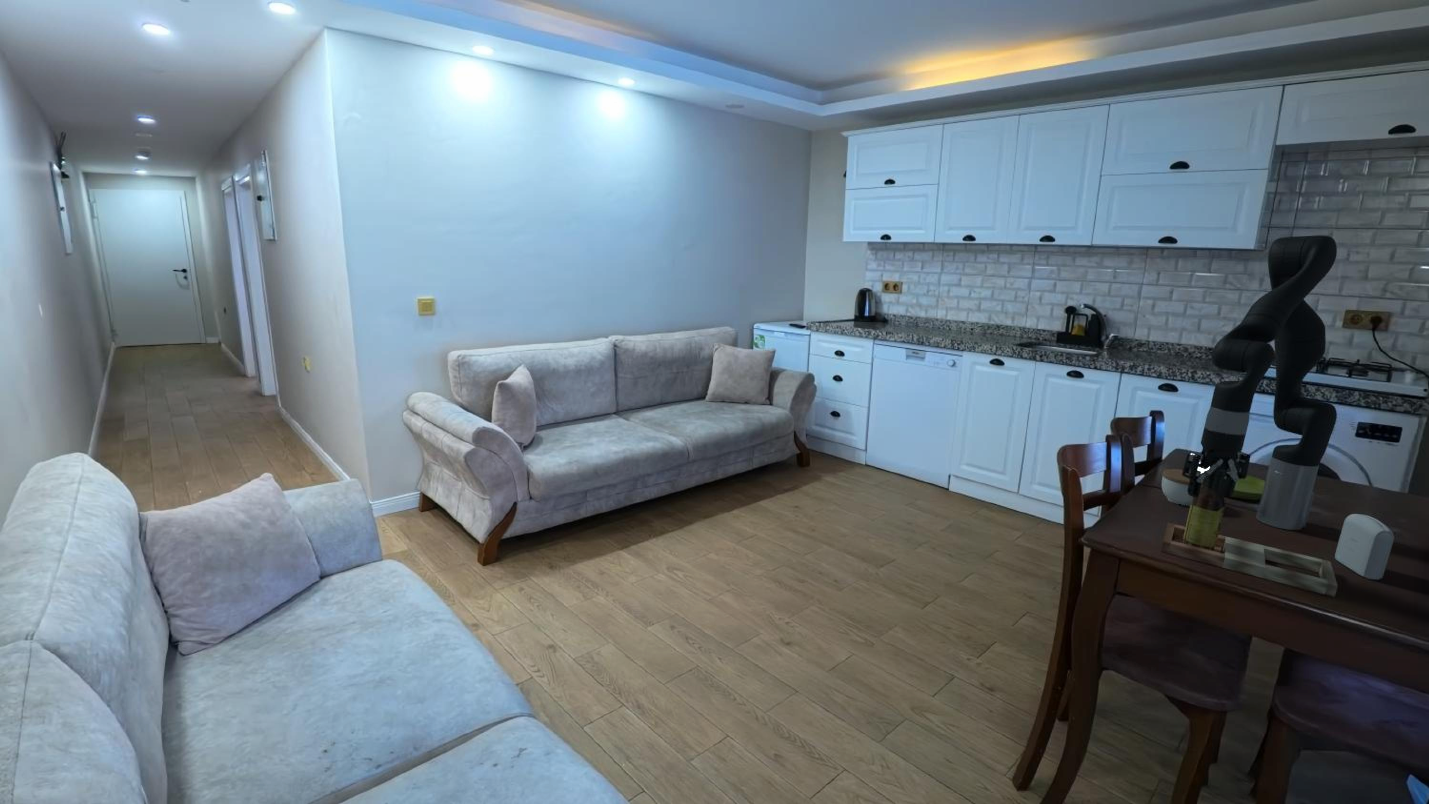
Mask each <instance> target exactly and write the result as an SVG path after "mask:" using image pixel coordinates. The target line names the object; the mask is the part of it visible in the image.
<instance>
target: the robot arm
mask: <svg viewBox="0 0 1429 804" xmlns="http://www.w3.org/2000/svg"><path fill="white" fill-rule="evenodd" d="M1337 254H1338V247H1337V242H1336V240H1335V239H1334V238H1333V237H1332V236H1330V235H1319V234H1318V235H1303V236H1301V235H1300V236H1287V237H1286V236H1285V237H1279V238H1277V239H1275V240H1274V241H1273V242H1272V243H1271V244H1270V247H1269V249H1268V253H1267V255H1268V256H1267V267H1268V268H1267V269H1268V274H1269V283H1270V288H1271V290H1270V291H1268V292H1266V293H1265V294H1263V295H1262V296H1261V297H1259V298H1258V299H1257V300H1256V301H1255V302H1254V303H1253V304H1252V305H1251V306H1250V308H1249V310H1248V311H1247V313H1246V315H1244V317H1243V319H1242V320H1241V322H1240V323H1239V324H1238V325H1236V326H1235V327H1234V328H1233V329H1231V330H1230V331H1229V332H1228V333H1227V334H1225V335H1224V336H1223V337H1222V338H1220V339H1219V340H1218V341H1217V342H1216V344H1215V346H1213V349H1212V351H1211V355H1210V358H1211V362H1212V363H1213V366H1215V368H1217V369H1220V370H1225V371H1231V372H1237V373H1245V376H1243V378H1242V379H1240V380H1223V381H1218V382H1217V383H1216V384H1215V386H1214V389H1213V394H1212V397H1211V398H1212V399H1211V402H1210V406H1209V409H1208V411H1207V414H1206V417H1205V423H1204V426H1203V427H1204V428H1203V432H1202V435H1201V438H1200V439H1201V440H1200V445H1201V447H1202V449H1201V451H1200V452H1198V453H1197V452H1194V451H1188V452H1187V454H1186V458H1185V462H1184V464H1183V469H1182V470H1183V472H1182V476H1184V477H1186V478H1189V480H1190V481H1189V485H1188V490H1187V492H1188V494H1189V495H1190V496H1192V497H1198V496H1199V492H1200V488H1201V484H1202V483H1201V481H1202V480H1203V479H1204V478H1205V477H1206V476H1209V475H1210V474H1211V473H1212V472H1217V471H1218V470H1226V471H1227V473H1226V476H1225V478H1226V479H1224V481H1223V487H1222V488H1223V494H1224V497H1227V498H1229V497H1230V498H1232V497H1231V496H1232V494H1233V492H1234V488H1235V484H1236V482H1237V481H1238V480H1239V479H1245V478H1246V477H1247V475H1248V472H1249V467H1250V462H1251V461H1250V460H1251V455H1250V453H1245V452H1243V447H1244V444H1245V439H1246V436H1247V431H1248V427H1249V424H1250V412H1251V409H1252V405H1253V401H1254V397H1255V394H1256V392H1257V389H1258V387H1259V385H1260V383H1261V381H1262V380H1263V378H1264V377H1265V375H1266V374H1267V373H1268V371H1269V369H1270V368H1271V367H1272V365H1273V362H1274V361H1275V388H1274V389H1275V390H1274V401H1273V411H1272V412H1273V413H1272V416H1273V422H1274V425H1275V426H1276V428H1278V429H1280V430H1281V431H1285V432H1288V433H1290V434H1295V435H1299V436H1301V438H1300V440H1299V442H1298V443H1296V444H1279V445H1276V446H1275V447H1274V448H1273V451H1272V454H1271V458H1270V462H1269V466H1268V470H1267V475H1266V478H1265V480H1264V481H1265V485H1264V489H1263V493H1262V497H1261V500H1259V506H1258V509H1257V512H1256V516H1255V518H1256V519H1257V521H1259V522H1261V523H1262V524H1266V525H1268V526H1270V527H1274V528H1278V529H1284V530H1289V531H1290V530H1291V531H1300V530H1302V528H1306V525H1307V522H1308V517H1309V514H1310V511H1311V508H1312V507H1311V506H1312V503H1313V500H1314V498H1315V492H1314V491H1313V489H1314V485H1315V482H1316V478H1317V474H1318V470H1319V467H1320V465H1321V461H1322V458H1323V457H1324V456H1325V453H1326V452H1327V448H1328V445H1329V442H1330V440H1331V438H1332V437H1331V436H1332V434H1333V431H1334V430H1335V429H1334V428H1335V425H1336V423H1337V418H1338V417H1337V416H1338V414H1337V413H1338V412H1337V409H1336V406H1335V405H1333V404H1332V403H1329V402H1325V401H1320V400H1316V399H1311V398H1307V397H1303V395H1302V385H1303V381H1304V379H1305V377H1306V376H1307V375H1308V374H1309V372H1311V370H1313V369H1314V368H1315V366H1316V365H1318V363H1320V361H1321V360H1322V359H1323V357H1324V355H1325V354H1326V346H1327V345H1326V344H1327V343H1326V342H1327V341H1326V325H1325V323H1324V321H1323V319H1322V318H1321V317H1320V316H1319V315H1318V313H1317V312H1316V311H1315V310H1314V309H1313V308H1312V307H1311V305H1310V304H1309V303H1307V301H1306V300H1305V298H1306V297H1307V296H1308V295H1309V294H1310V293H1311V292H1312V291H1313V290H1314V289H1315V288H1316V286H1318V285H1319V283H1321V281H1322V280H1323V279H1324V278H1325V277H1326V276H1327V274H1328V273H1329V272H1330V271H1331V269H1332V267H1333V266H1334V264H1335V261H1336V258H1337ZM1273 341H1274V347H1273V346H1272V345H1271V344H1270V343H1271V342H1273ZM1189 470H1190V473H1189ZM1198 473H1200V474H1199V475H1198ZM1197 475H1198V476H1197Z"/></svg>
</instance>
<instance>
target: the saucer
mask: <svg viewBox="0 0 1429 804" xmlns="http://www.w3.org/2000/svg"><path fill="white" fill-rule="evenodd" d="M1198 474H1200V473H1198ZM1224 479H1226V478H1225V477H1224ZM1265 481H1266V480H1264V479H1261V478H1258V477H1255V476H1251V475H1248V474H1247V477H1246V478H1245V479H1239V480H1238V481H1237V482H1236V484H1235V488H1234V492H1233V494H1232V496H1231V497H1230V498H1235V499H1239V498H1240V500H1247V499H1249V500H1250V501H1258V500H1259V501H1260V499H1261V497H1262V493H1263V489H1264V485H1265Z"/></svg>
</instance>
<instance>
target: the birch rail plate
mask: <svg viewBox="0 0 1429 804" xmlns="http://www.w3.org/2000/svg"><path fill="white" fill-rule="evenodd" d="M1185 528H1186V526H1183V525H1181V524H1180V525H1179V524H1176V523H1171V522H1167V525H1166V528H1165V533H1164V536H1163V540H1162V545H1161V551H1160V552H1162V553H1166V554H1169V555H1174V556H1177V557H1181V558H1184V559H1188V560H1191V561H1192V560H1193V561H1197V562H1199V563H1204V564H1208V565H1211V566H1215V567H1218V568H1219V567H1220V568H1224V569H1226V570H1230V571H1234V572H1238V573H1243V574H1246V575H1250V576H1252V577H1253V576H1254V577H1257V578H1260V579H1265V580H1269V581H1273V582H1277V583H1280V584H1284V585H1288V586H1291V587H1295V588H1298V589H1303V590H1306V591H1311V592H1315V593H1318V594H1321V595H1322V594H1323V595H1325V594H1326V595H1325V596H1330V597H1333V598H1334V597H1336V594H1337V590H1338V588H1339V587H1338V583H1337V580H1336V579H1337V578H1336V575H1335V573H1334V572H1335V571H1334V569H1333V566H1332V563H1331V561H1330V560H1326V559H1321V558H1319V557H1313V556H1310V555H1305V554H1301V553H1297V552H1293V551H1289V550H1283V549H1280V548H1276V547H1271V546H1268V545H1267V546H1266V545H1263V544H1259V543H1256V542H1250V541H1246V540H1243V539H1239V538H1233V537H1229V536H1226V535H1221V534H1218V538H1217V542H1216V546H1215V547H1214V550H1213V551H1211V550H1207V549H1203V548H1199V547H1195V546H1191V545H1187V544H1183V540H1184V539H1183V537H1184V532H1185ZM1266 560H1267V561H1270V562H1275V563H1279V564H1283V565H1286V566H1289V567H1295V568H1299V569H1302V570H1307V571H1310V572H1313V573H1318V574H1319V577H1318V576H1313V575H1309V574H1306V573H1305V574H1304V573H1302V572H1297V571H1293V570H1289V569H1285V568H1282V567H1278V566H1273V565H1270V564H1266Z"/></svg>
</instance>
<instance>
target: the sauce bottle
mask: <svg viewBox="0 0 1429 804" xmlns="http://www.w3.org/2000/svg"><path fill="white" fill-rule="evenodd" d="M1226 473H1227V471H1226V470H1218V471H1217V472H1212V473H1211V474H1210V475H1209V476H1206V477H1205V478H1204V479H1203V481H1202V485H1201V488H1200V492H1199V496H1198V497H1193V499H1192V503H1191V505H1190V506H1189V511H1188V513H1187V515H1188V516H1187V518H1186V519H1187V520H1186V524H1185V527H1186V528H1185V532H1184V537H1183V539H1184V540H1183V544H1187V545H1191V546H1195V547H1199V548H1203V549H1207V550H1211V551H1213V550H1214V547H1215V546H1216V542H1217V538H1218V535H1220V529H1221V525H1222V521H1223V516H1224V512H1225V509H1226V501H1225V496H1224V494H1223V488H1222V487H1223V481H1224V477H1225V476H1226Z"/></svg>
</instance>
